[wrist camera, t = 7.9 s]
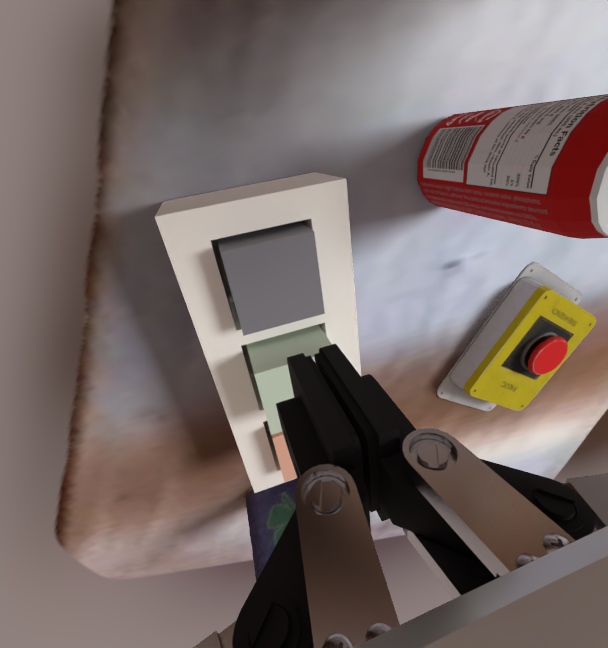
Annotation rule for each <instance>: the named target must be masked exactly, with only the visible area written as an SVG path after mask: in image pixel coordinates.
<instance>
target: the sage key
mask: <svg viewBox="0 0 608 648" xmlns="http://www.w3.org/2000/svg"><path fill="white" fill-rule="evenodd" d="M329 345H332V344H331V342H330V341H329V339H328V338H327V336H326V335H325V334H324V332H323V331H322V329H321V328H320V326H319V325H314V326H311V327H307V328H303V329H300V330H296V331H293V332H289V333H285V334H282V335H278V336H275V337H271V338H267V339H264V340H260V341H257V342H253V343H250V344H246V346H247V349H248V353H249V357H250V361H251V364H252V368H253V372H254V376H255V379H256V383H257V386H258V390H259V393H260V397H261V401H262V404H263V408H264V411H265V415H266V418H267V422H268V426H269V429H270V433H271V435H273V434H276V433H279V432H282V428H281V424H280V420H279V416H278V411H277V407H276V403H279V402H282V401H285V400H288V399H291V398H294V394H293V389H292V384H291V379H290V374H289V368H288V363H287V357H290V356H294V355H297V354H301V353H304V355H305V357H306V356H311V357H312V359H313V360H314V362H315V357H314V355H315V354H316V353H319V348H322V347H325V346H329Z"/></svg>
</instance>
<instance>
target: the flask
mask: <svg viewBox="0 0 608 648" xmlns="http://www.w3.org/2000/svg"><path fill="white" fill-rule="evenodd" d="M297 482H298V478H296V479H293V480H290V481H287V482H285V483H282V484H279V485H276V486H274V487H271V488H268V489H265V490H262V491H260V492H257V493H254V490H253V488H250V489H249V490H248V492H247V493H246V496H245V497H246V507H247V514H248V521H249V527H250V537H251V543H252V549H253V560H254V567H255V576H256V581H257V579H258V578H259V576H260V574H261V572H262V570H263V568H264V566H265V565H266V563H267V561H268V559H269V557H270V555H271V553H272V552H273V550H274V548H275V546H276V544H277V542H278V540H279V539H280V537H281V535H282V533H283V531H284V529H285V527H286V526H287V524H288V522H289V520H290V518H291V516H292V514H293V513H294V511H295V509H296V505H295V487H296V485H297Z"/></svg>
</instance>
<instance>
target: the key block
mask: <svg viewBox="0 0 608 648" xmlns="http://www.w3.org/2000/svg"><path fill="white" fill-rule="evenodd" d="M155 219H156V222H157V225H158V227H159V230H160V233H161V236H162V239H163V241H164V244H165V247H166V250H167V252H168V255H169V258H170V261H171V263H172V266H173V269H174V272H175V274H176V277H177V280H178V283H179V285H180V288H181V291H182V294H183V297H184V299H185V302H186V305H187V308H188V310H189V313H190V316H191V319H192V321H193V324H194V327H195V330H196V332H197V335H198V338H199V341H200V343H201V346H202V349H203V352H204V355H205V357H206V360H207V363H208V366H209V368H210V371H211V374H212V377H213V379H214V382H215V385H216V388H217V390H218V393H219V396H220V399H221V401H222V404H223V407H224V410H225V413H226V415H227V418H228V421H229V424H230V426H231V429H232V432H233V435H234V437H235V440H236V443H237V446H238V448H239V451H240V454H241V457H242V459H243V462H244V465H245V468H246V471H247V473H248V476H249V479H250V482H251V484H252V487H253V490H254V493H257V492H260V491H262V490H265V489H268V488H271V487H274V486H276V485H279V484H282V483H285V482H284V478H283V475H282V471H281V468H280V464H279V461H278V457H277V453H276V450H275V446H274V443H273V439H272V436H271V433H270V429H269V426H268V422H267V418H266V415H265V411H264V408H263V404H262V401H261V397H260V393H259V390H258V386H257V383H256V379H255V376H254V372H253V368H252V364H251V361H250V357H249V353H248V349H247V346H246V344H250V343H253V342H257V341H260V340H264V339H267V338H271V337H275V336H278V335H282V334H285V333H289V332H293V331H296V330H300V329H303V328H307V327H311V326H314V325H319V326H320V328H321V329H322V331H323V332H324V334H325V335H326V336H327V338H328V339H329V341H330V342H331V344H336V345H337V346H338V347H339V348H340V350H341V351H342V352H343V354H344V355H345V356H346V358H347V359H348V360H349V361H350V363H351V364H352V365H353V367H354V368H355V369H356V371H357V372H358V373H359V375H360V376H361V367H360V354H359V340H358V327H357V314H356V301H355V287H354V274H353V261H352V247H351V234H350V221H349V207H348V194H347V181H346V178H342V177H337V176H331V175H326V174H321V173H316V172H313V173H308V174H303V175H297V176H292V177H287V178H282V179H277V180H271V181H266V182H261V183H256V184H251V185H246V186H240V187H235V188H230V189H225V190H220V191H214V192H209V193H204V194H199V195H194V196H189V197H183V198H178V199H173V200H168V201H163V203H162V205H161V207H160V208H159V210H158V212H157V213H156V215H155ZM297 221H300V222H302V223H303V224H304V225H306V226H307V227H309V228H310V229H312V230H313V231H314V234H315V241H316V249H317V257H318V265H319V272H320V280H321V288H322V295H323V303H324V311H325V314H322V315H318V316H314V317H311V318H307V319H303V320H300V321H296V322H292V323H289V324H285V325H281V326H278V327H274V328H270V329H267V330H263V331H259V332H256V333H252V334H248V335H245V336H243V332H242V329H241V325H240V321H239V318H238V314H237V311H236V307H235V304H234V300H233V296H232V293H231V289H230V286H229V282H228V279H227V275H226V271H225V268H224V264H223V261H222V257H221V254H220V250H219V246H218V242H217V239H219V238H224V237H229V236H233V235H238V234H242V233H247V232H252V231H256V230H261V229H265V228H270V227H274V226H279V225H284V224H288V223H293V222H297ZM295 479H296V478H295ZM292 480H293V479H292ZM289 481H290V480H289ZM286 482H287V481H286Z"/></svg>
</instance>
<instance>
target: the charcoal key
mask: <svg viewBox="0 0 608 648" xmlns="http://www.w3.org/2000/svg"><path fill="white" fill-rule="evenodd" d="M217 242H218V246H219V250H220V254H221V257H222V261H223V264H224V268H225V271H226V275H227V279H228V282H229V286H230V289H231V293H232V296H233V300H234V304H235V307H236V311H237V314H238V318H239V321H240V325H241V329H242V332H243V336H245V335H248V334H252V333H256V332H259V331H263V330H267V329H270V328H274V327H278V326H281V325H285V324H289V323H292V322H296V321H300V320H303V319H307V318H311V317H314V316H318V315H322V314H325V311H324V303H323V295H322V288H321V280H320V272H319V265H318V257H317V249H316V241H315V234H314V231H313V230H312V229H310V228H309V227H307V226H306V225H304V224H303V223H302V222H300V221H297V222H293V223H288V224H284V225H279V226H274V227H270V228H265V229H261V230H256V231H252V232H247V233H242V234H238V235H233V236H229V237H224V238H219V239H217Z"/></svg>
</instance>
